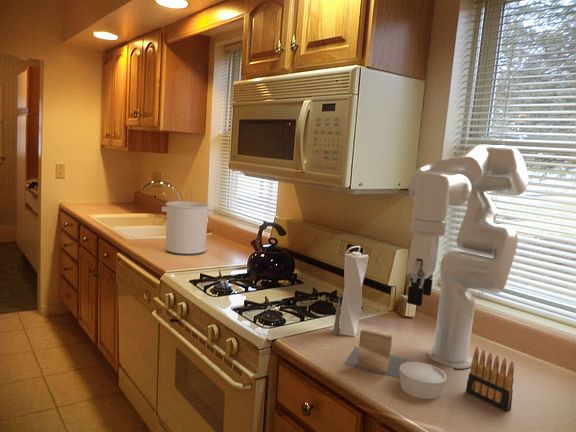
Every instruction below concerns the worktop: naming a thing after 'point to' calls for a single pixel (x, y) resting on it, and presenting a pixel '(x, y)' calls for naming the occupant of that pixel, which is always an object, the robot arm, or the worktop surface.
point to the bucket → (186, 227)
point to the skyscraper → (351, 294)
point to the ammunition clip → (491, 381)
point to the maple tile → (374, 350)
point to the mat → (392, 371)
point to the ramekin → (422, 380)
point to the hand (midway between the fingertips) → (419, 299)
